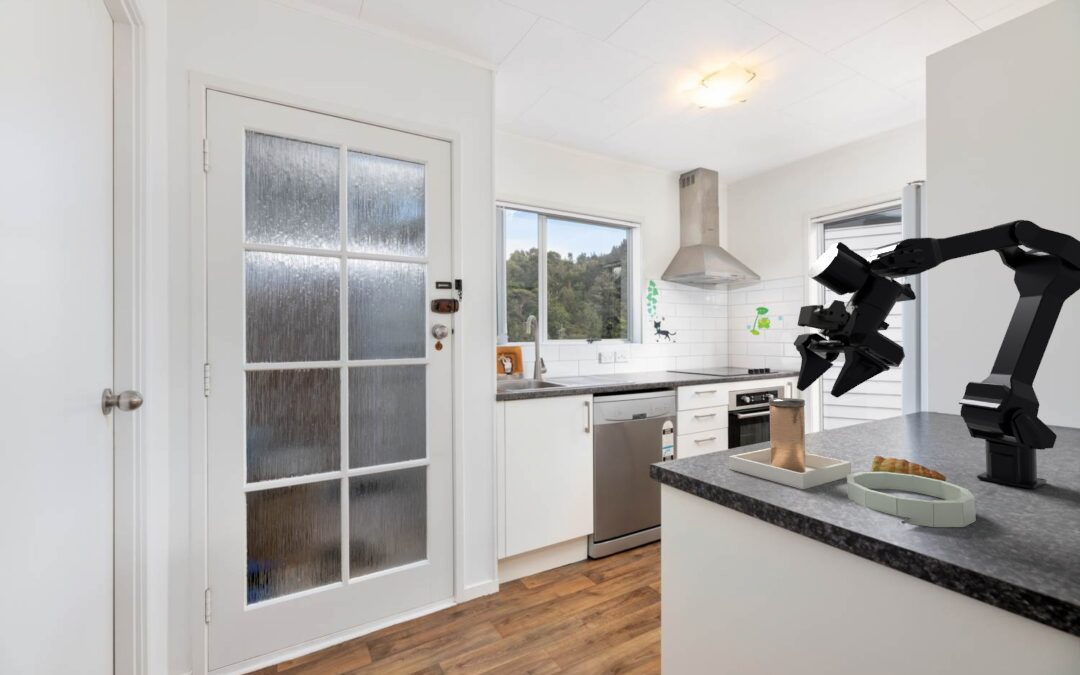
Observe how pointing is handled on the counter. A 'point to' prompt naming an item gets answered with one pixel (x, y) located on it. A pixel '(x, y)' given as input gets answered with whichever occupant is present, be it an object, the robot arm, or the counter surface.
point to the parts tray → (816, 470)
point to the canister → (787, 433)
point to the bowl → (920, 512)
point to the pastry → (904, 468)
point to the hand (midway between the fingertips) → (815, 392)
